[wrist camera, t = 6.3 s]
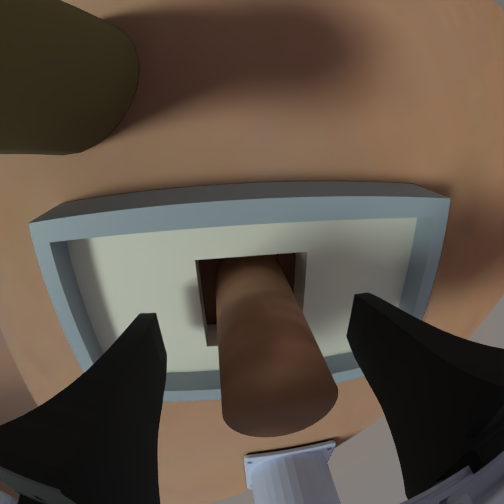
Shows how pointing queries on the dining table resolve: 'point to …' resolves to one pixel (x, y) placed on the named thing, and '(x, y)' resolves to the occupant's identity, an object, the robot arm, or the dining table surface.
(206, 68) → the dining table surface
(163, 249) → the box
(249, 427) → the peg
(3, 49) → the cork
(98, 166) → the dining table surface
